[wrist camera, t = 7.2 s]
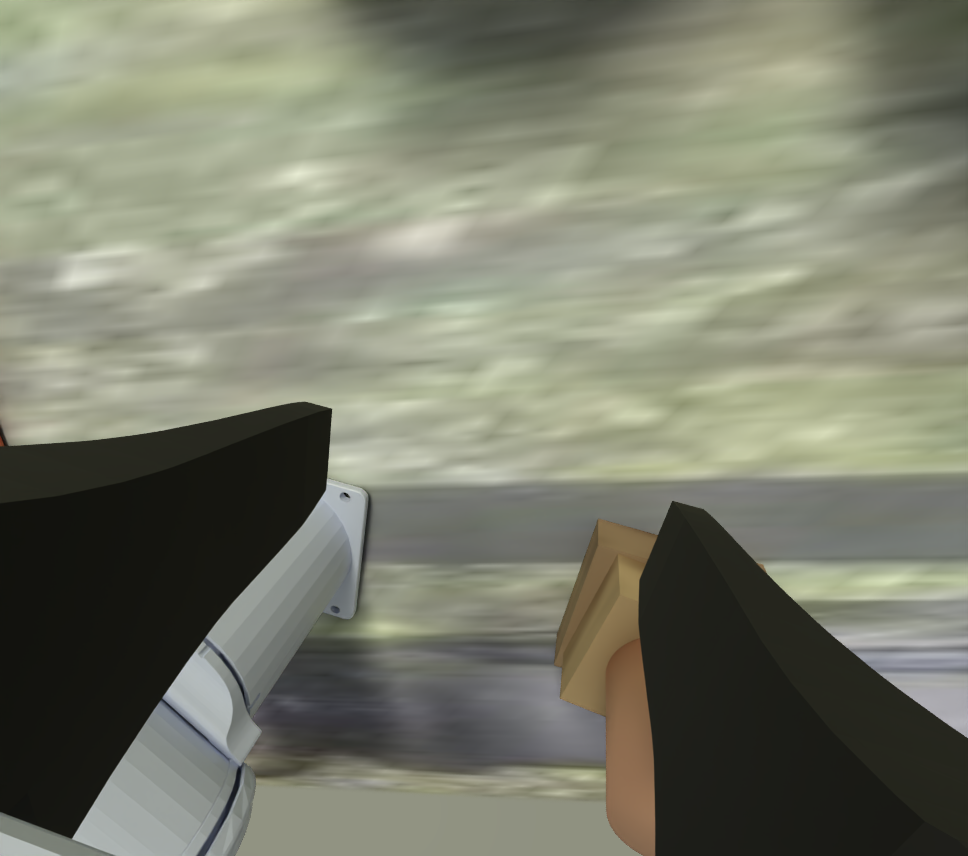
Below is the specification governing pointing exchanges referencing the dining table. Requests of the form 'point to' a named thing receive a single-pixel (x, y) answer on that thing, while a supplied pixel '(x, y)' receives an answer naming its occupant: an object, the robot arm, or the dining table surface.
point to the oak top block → (602, 635)
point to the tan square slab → (600, 572)
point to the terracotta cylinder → (629, 751)
